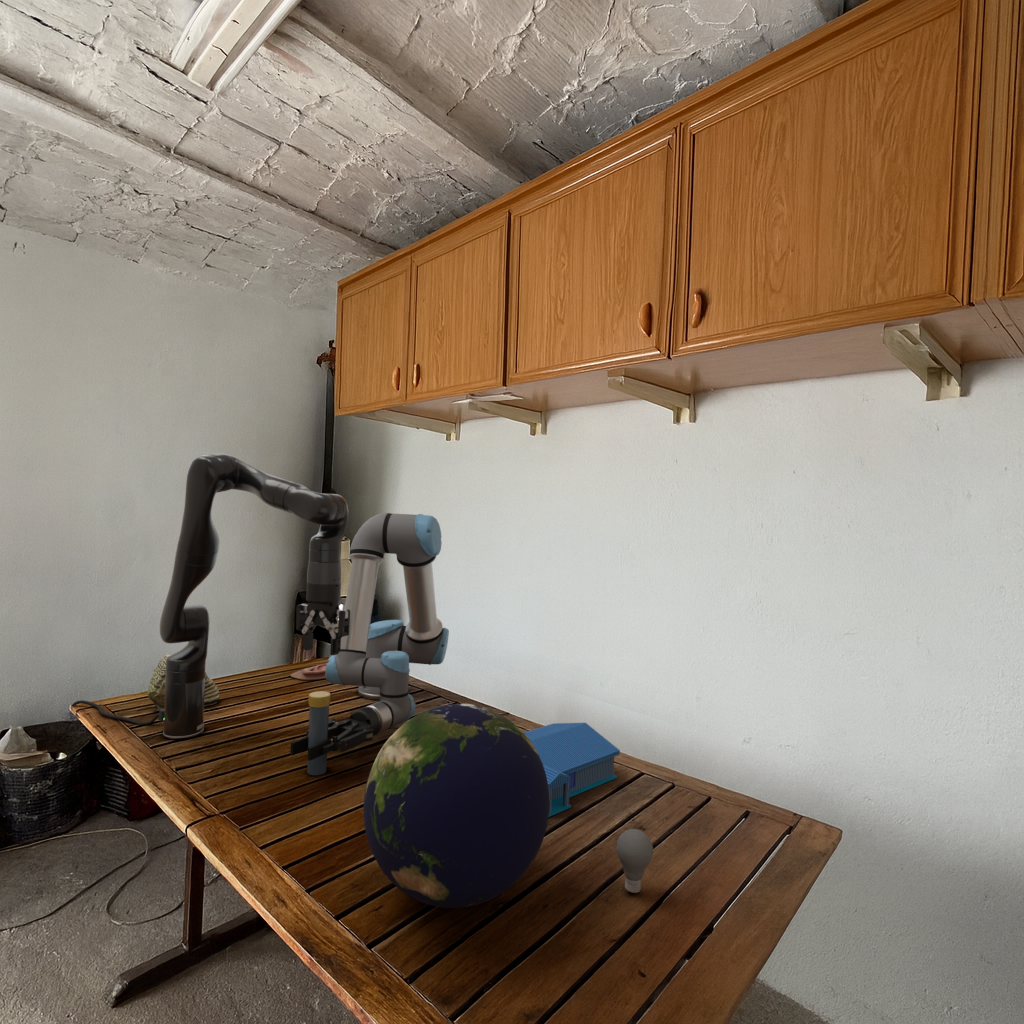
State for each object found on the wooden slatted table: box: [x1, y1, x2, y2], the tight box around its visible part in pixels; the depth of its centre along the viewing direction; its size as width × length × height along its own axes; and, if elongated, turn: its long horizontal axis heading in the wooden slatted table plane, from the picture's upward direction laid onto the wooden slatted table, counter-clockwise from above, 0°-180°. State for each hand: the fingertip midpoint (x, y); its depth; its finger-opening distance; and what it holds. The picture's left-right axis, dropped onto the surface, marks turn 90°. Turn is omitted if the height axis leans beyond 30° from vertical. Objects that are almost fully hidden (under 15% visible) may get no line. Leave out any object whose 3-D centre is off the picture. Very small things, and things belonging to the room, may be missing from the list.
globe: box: [363, 703, 549, 909], centre depth 103 cm, size 30×30×30 cm
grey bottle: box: [306, 705, 330, 776], centre depth 146 cm, size 4×4×18 cm
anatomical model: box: [290, 662, 327, 681], centre depth 221 cm, size 13×4×12 cm
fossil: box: [147, 654, 221, 711], centre depth 185 cm, size 9×18×15 cm, turn 132°
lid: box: [307, 690, 332, 708], centre depth 145 cm, size 5×5×2 cm
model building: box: [523, 722, 621, 818], centre depth 143 cm, size 39×24×10 cm, turn 132°
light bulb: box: [615, 828, 654, 894], centre depth 106 cm, size 6×6×10 cm
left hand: (321, 652), depth 145 cm, fingers open, 7 cm apart
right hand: (300, 751), depth 141 cm, fingers open, 4 cm apart
